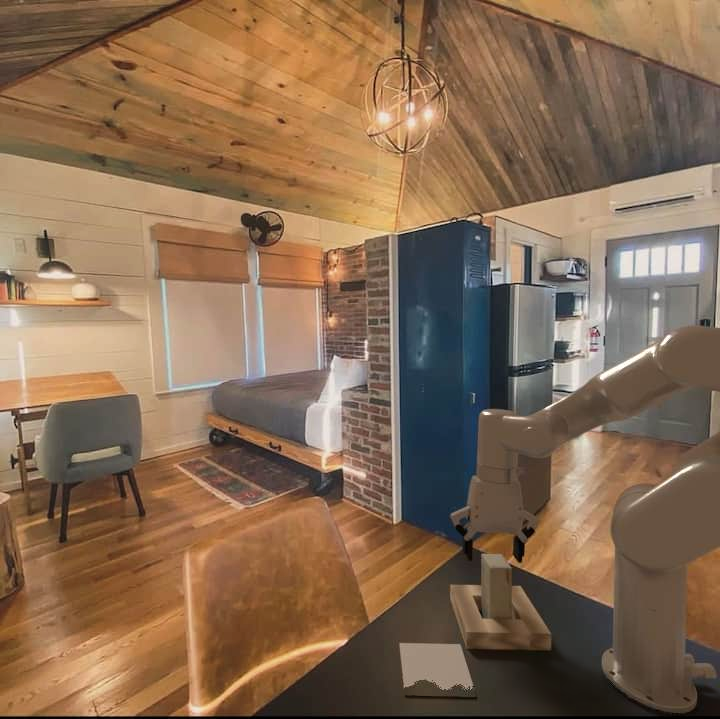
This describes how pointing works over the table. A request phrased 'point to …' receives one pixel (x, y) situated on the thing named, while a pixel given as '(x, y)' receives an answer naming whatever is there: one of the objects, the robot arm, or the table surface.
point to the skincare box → (496, 587)
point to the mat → (434, 665)
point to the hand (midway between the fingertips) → (492, 558)
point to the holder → (499, 622)
